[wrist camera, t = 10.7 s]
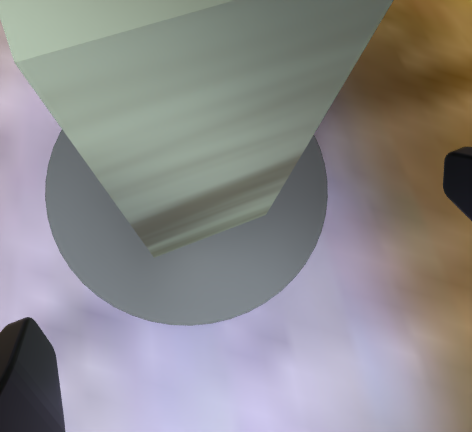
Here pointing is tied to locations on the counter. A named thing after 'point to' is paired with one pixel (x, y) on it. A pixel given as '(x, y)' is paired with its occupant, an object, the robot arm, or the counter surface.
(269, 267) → the slate plinth
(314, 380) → the counter surface
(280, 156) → the sage block
